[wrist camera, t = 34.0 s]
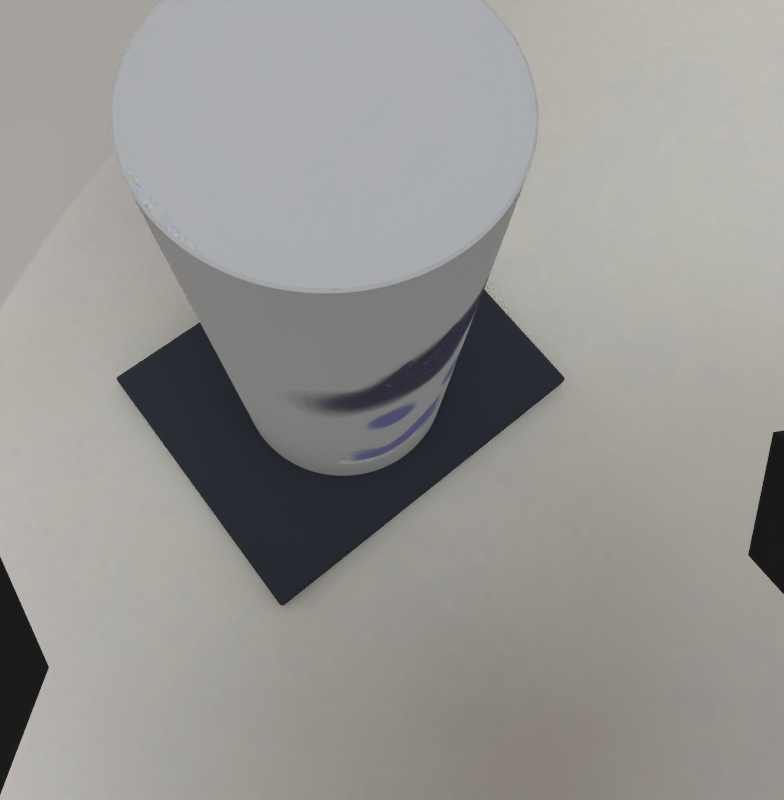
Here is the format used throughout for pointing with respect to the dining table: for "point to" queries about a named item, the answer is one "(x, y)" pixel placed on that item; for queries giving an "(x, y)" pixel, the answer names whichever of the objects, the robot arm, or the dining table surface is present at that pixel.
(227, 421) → the mat
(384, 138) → the container
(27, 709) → the robot arm
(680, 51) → the dining table surface
